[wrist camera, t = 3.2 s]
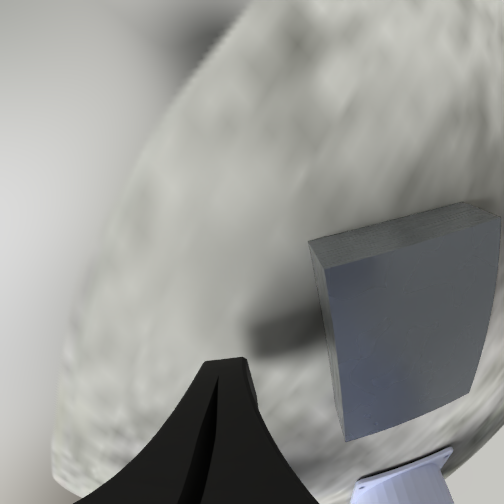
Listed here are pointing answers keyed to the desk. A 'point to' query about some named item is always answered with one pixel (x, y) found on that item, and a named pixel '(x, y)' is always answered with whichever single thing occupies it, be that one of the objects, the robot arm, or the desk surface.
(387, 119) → the desk surface
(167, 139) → the desk surface
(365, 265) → the steel plate
